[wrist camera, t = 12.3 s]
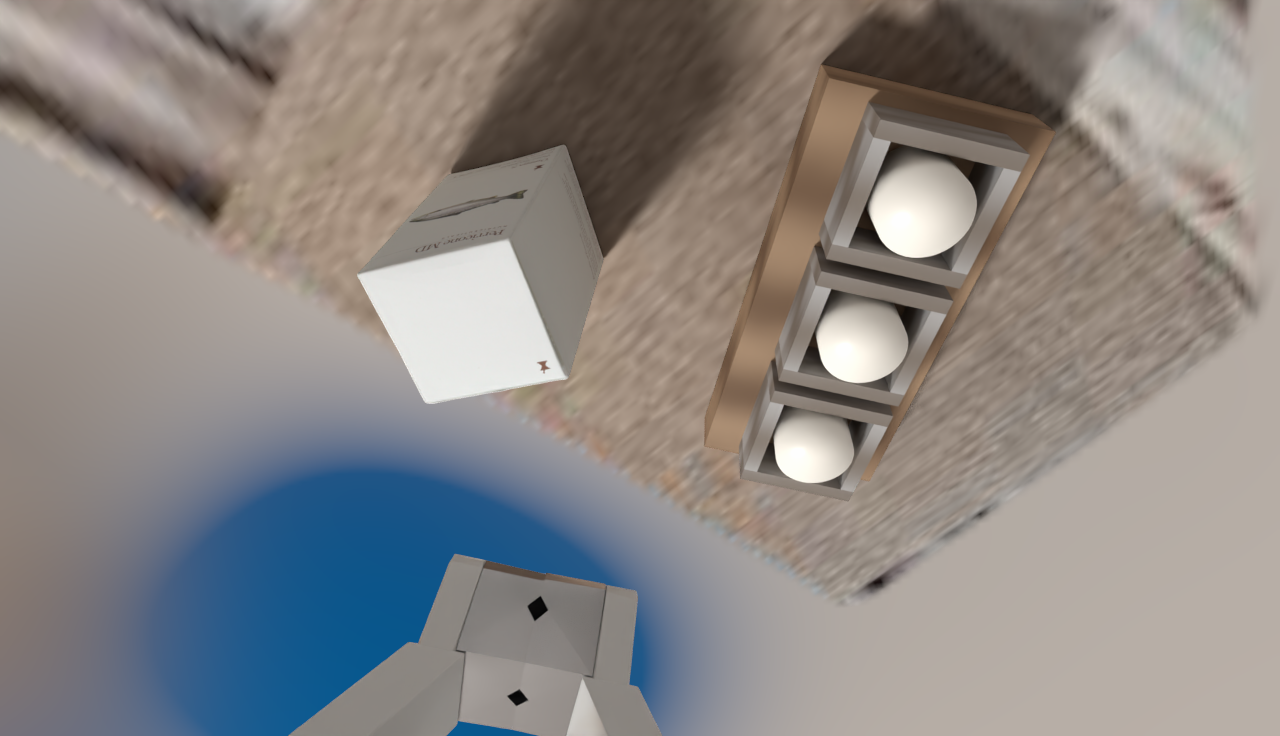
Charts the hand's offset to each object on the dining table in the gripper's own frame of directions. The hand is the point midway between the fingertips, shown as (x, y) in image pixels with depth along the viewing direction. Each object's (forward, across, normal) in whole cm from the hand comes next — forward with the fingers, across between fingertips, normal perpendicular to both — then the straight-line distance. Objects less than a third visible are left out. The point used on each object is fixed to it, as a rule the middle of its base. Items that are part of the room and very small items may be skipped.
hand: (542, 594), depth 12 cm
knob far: (+28, -13, +16) cm, 35 cm away
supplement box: (+31, +6, +8) cm, 33 cm away
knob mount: (+31, -13, +8) cm, 35 cm away
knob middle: (+28, -13, +8) cm, 32 cm away
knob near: (+28, -13, 0) cm, 31 cm away
